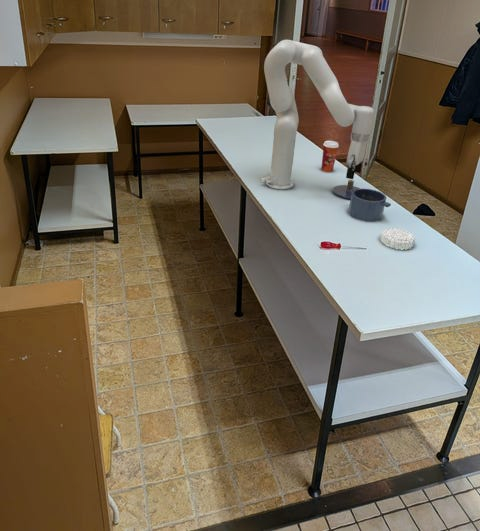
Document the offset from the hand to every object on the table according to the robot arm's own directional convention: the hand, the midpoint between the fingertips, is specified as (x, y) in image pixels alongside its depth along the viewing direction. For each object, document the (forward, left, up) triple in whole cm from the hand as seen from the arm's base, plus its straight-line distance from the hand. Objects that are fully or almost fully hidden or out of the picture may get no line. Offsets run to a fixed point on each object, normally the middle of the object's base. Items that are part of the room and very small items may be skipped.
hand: (353, 175), depth 219 cm
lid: (0, 0, -8) cm, 8 cm away
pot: (-9, -20, -9) cm, 23 cm away
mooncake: (-15, -44, -9) cm, 47 cm away
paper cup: (+9, +28, -9) cm, 31 cm away
